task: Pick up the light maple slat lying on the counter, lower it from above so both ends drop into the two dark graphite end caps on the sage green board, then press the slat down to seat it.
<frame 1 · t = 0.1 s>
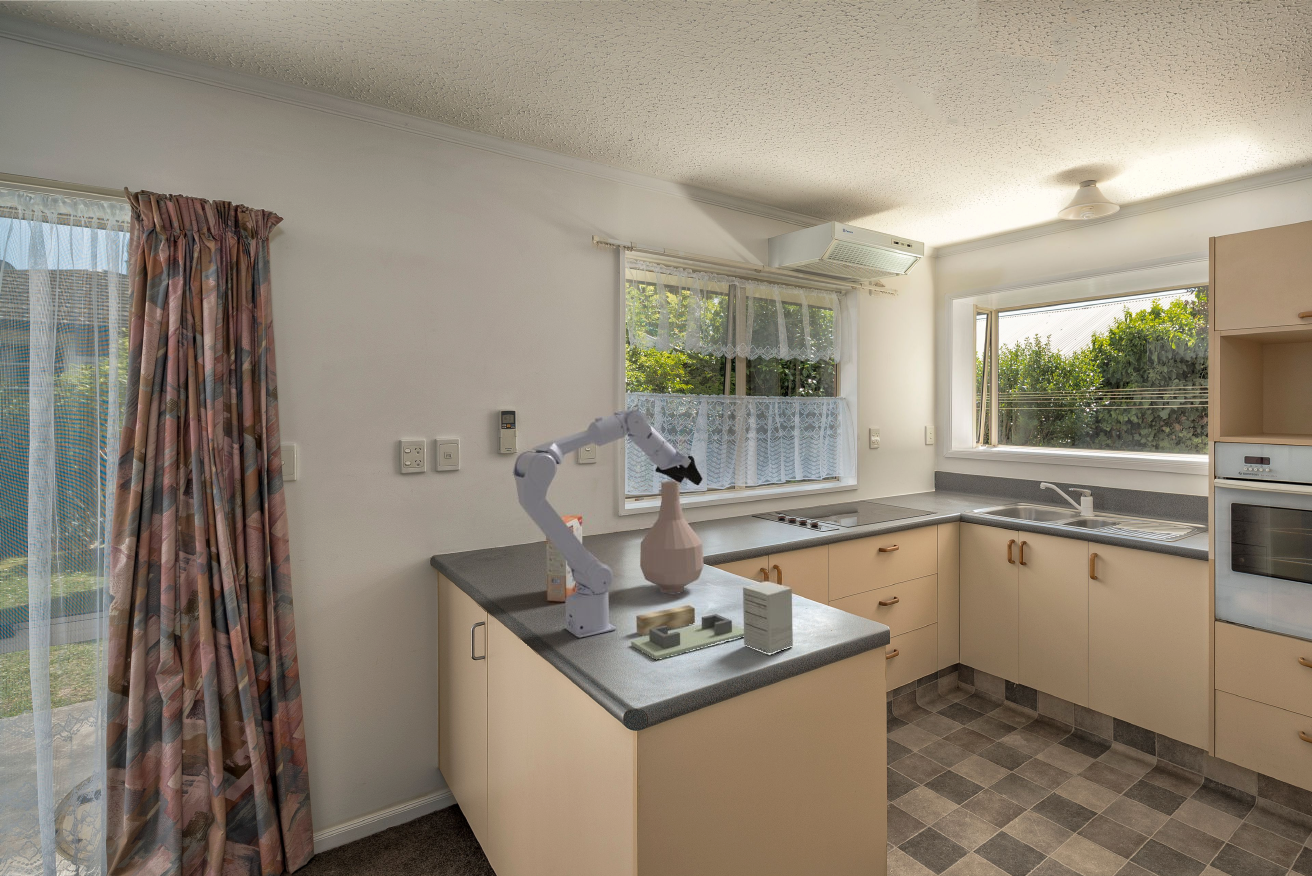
hand: (690, 480, 158), 32 cm above the countertop, tool tilted 50°, fingers open, 7 cm apart
slat: (666, 629, 144), on the countertop
supplement box: (768, 648, 131), on the countertop
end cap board: (691, 640, 136), on the countertop
cracker box: (566, 595, 172), on the countertop
vase: (672, 590, 175), on the countertop
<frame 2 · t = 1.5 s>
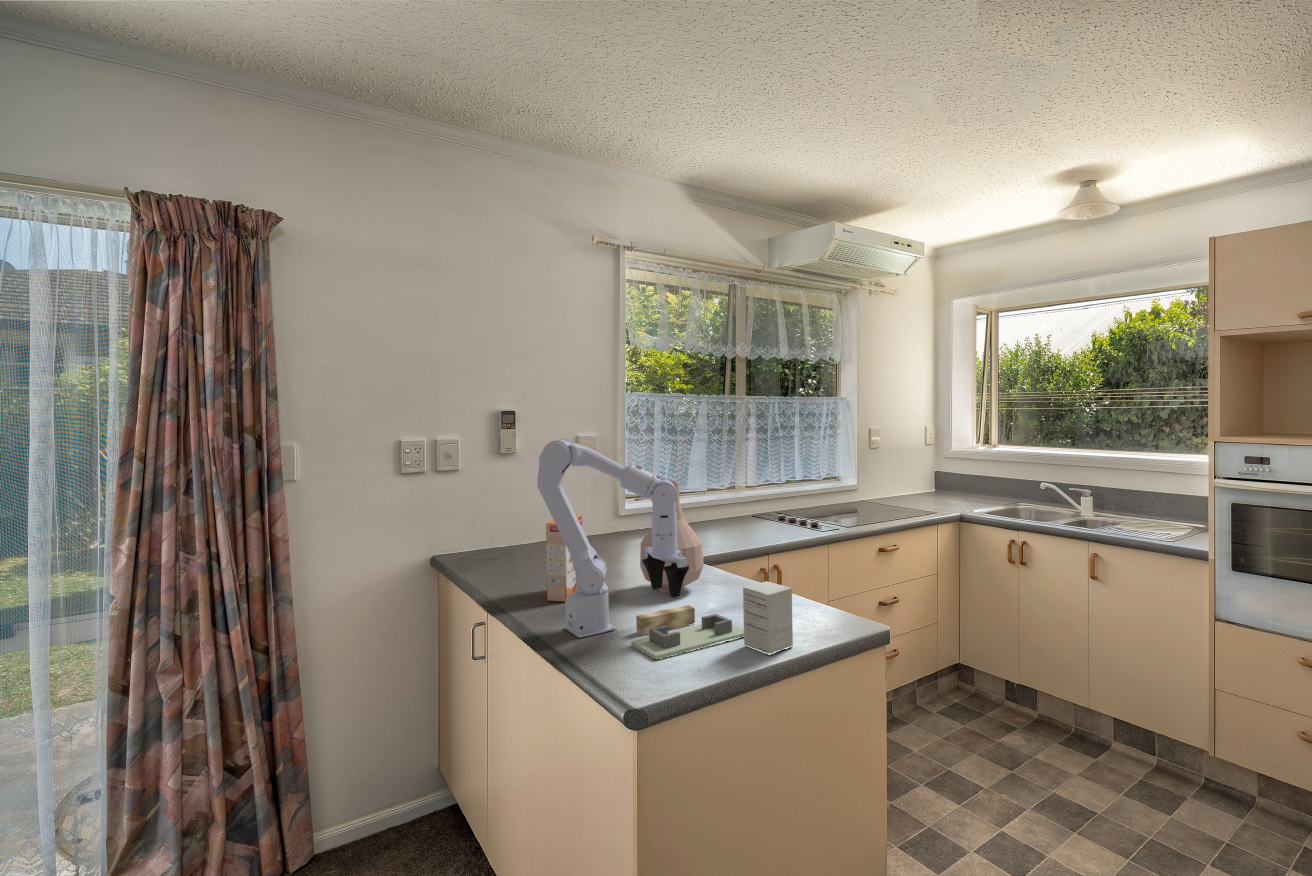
hand: (665, 592, 144), 8 cm above the countertop, tool pointing down, fingers open, 7 cm apart
nothing on the countertop moved.
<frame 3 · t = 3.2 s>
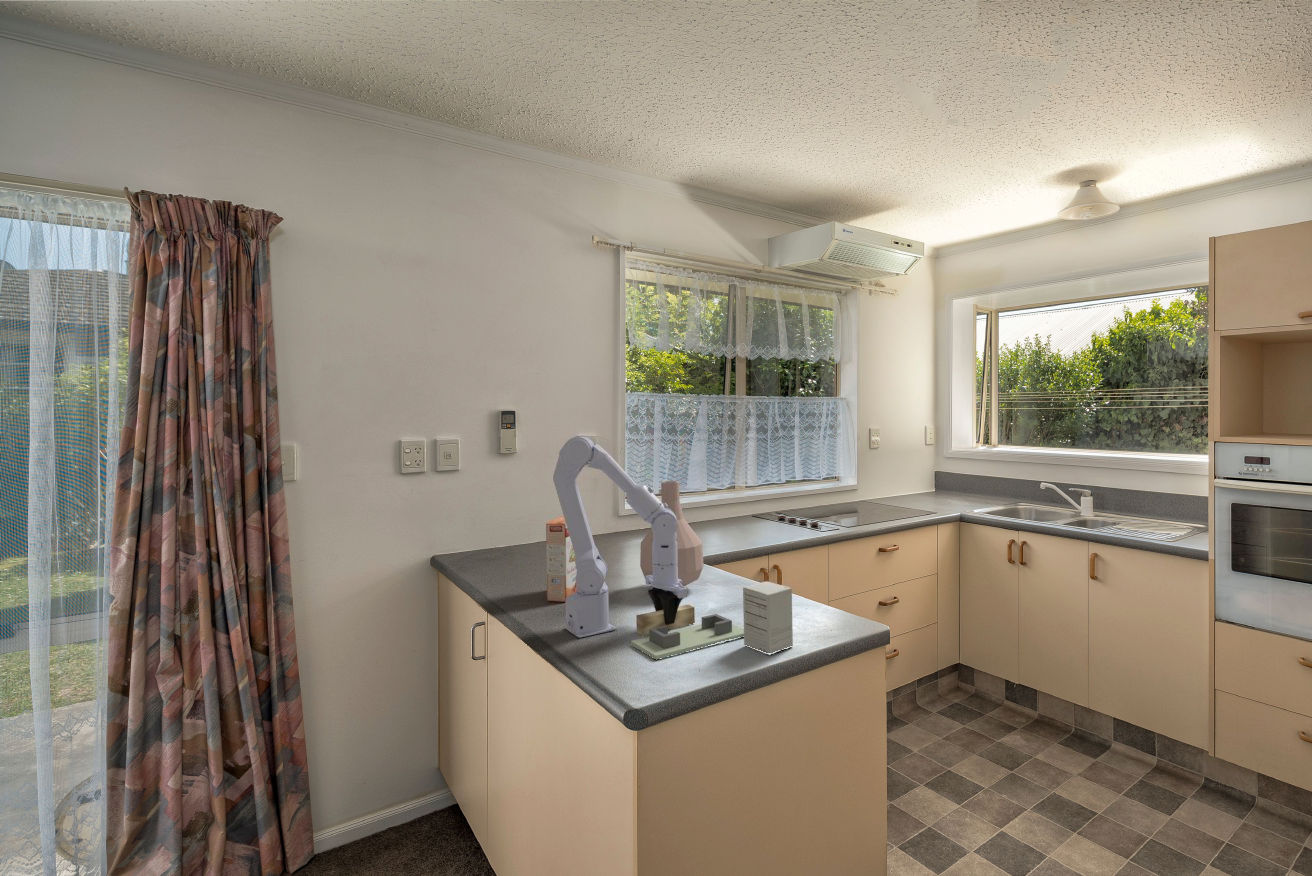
hand: (666, 621, 144), 1 cm above the countertop, tool pointing down, fingers closed on slat, 2 cm apart
slat: (666, 628, 144), on the countertop, touching gripper
everything else where it was.
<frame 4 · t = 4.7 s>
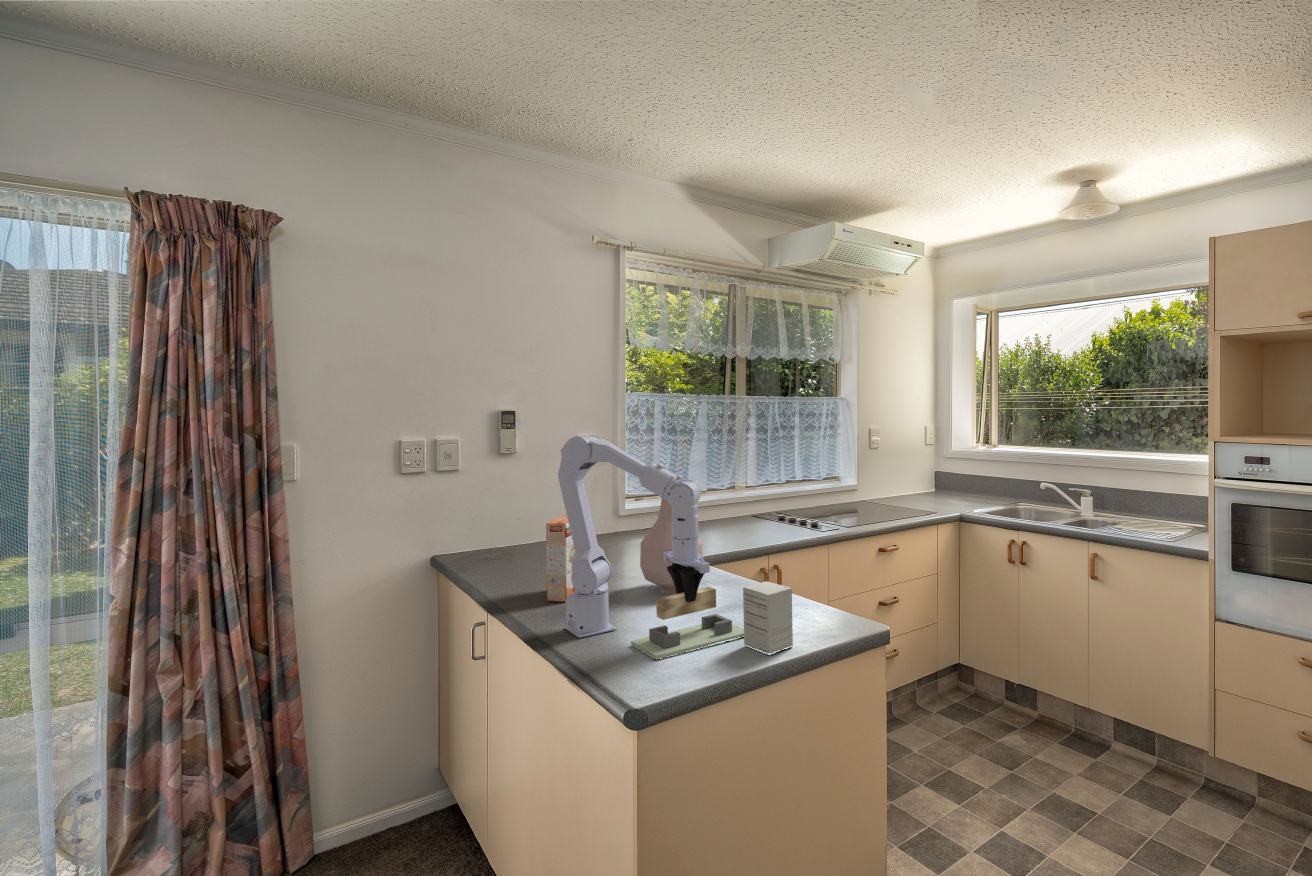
hand: (686, 599, 137), 9 cm above the countertop, tool pointing down, fingers closed on slat, 2 cm apart
slat: (687, 611, 137), point 6 cm above the countertop, touching gripper
everything else where it was.
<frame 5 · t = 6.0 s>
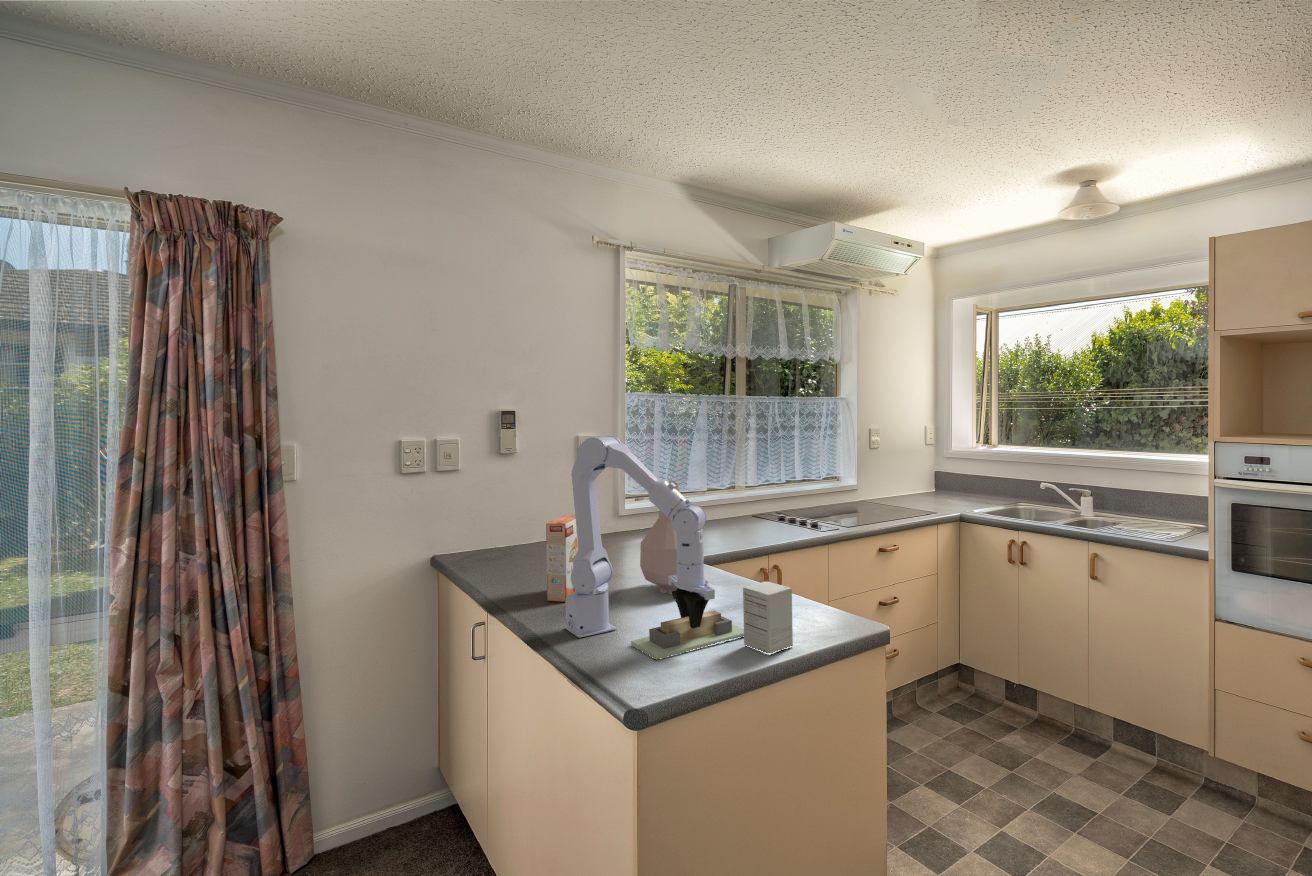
hand: (691, 624, 136), 3 cm above the countertop, tool pointing down, fingers closed on slat, 2 cm apart
slat: (691, 636, 136), point 1 cm above the countertop, touching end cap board, gripper
everything else where it was.
when the fingers open (3 cm above the countertop, at t = 6.5 s): slat stays where it is, resting on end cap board.
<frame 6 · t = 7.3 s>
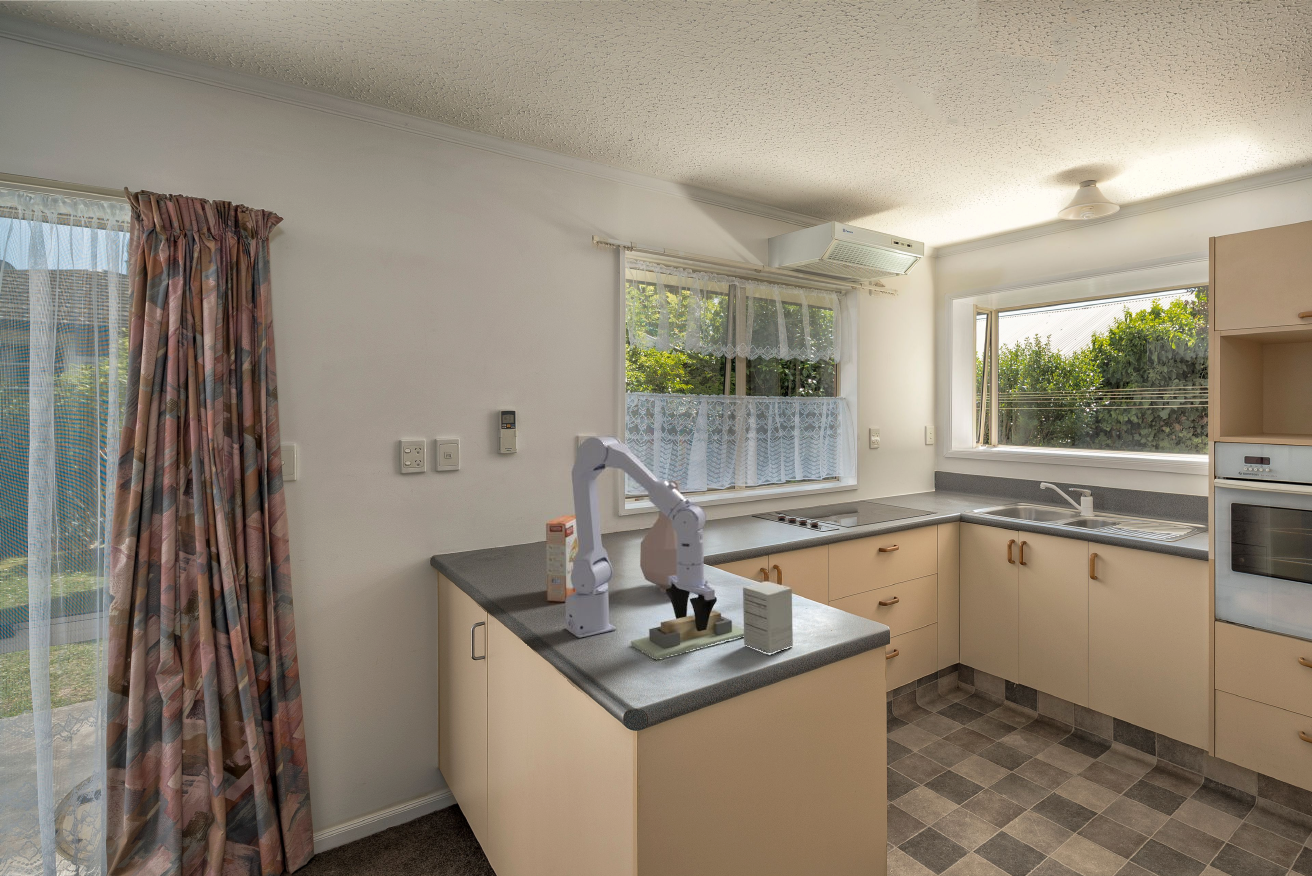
hand: (691, 625, 136), 3 cm above the countertop, tool pointing down, fingers open, 7 cm apart
slat: (691, 636, 136), point 1 cm above the countertop, touching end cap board
everything else where it was.
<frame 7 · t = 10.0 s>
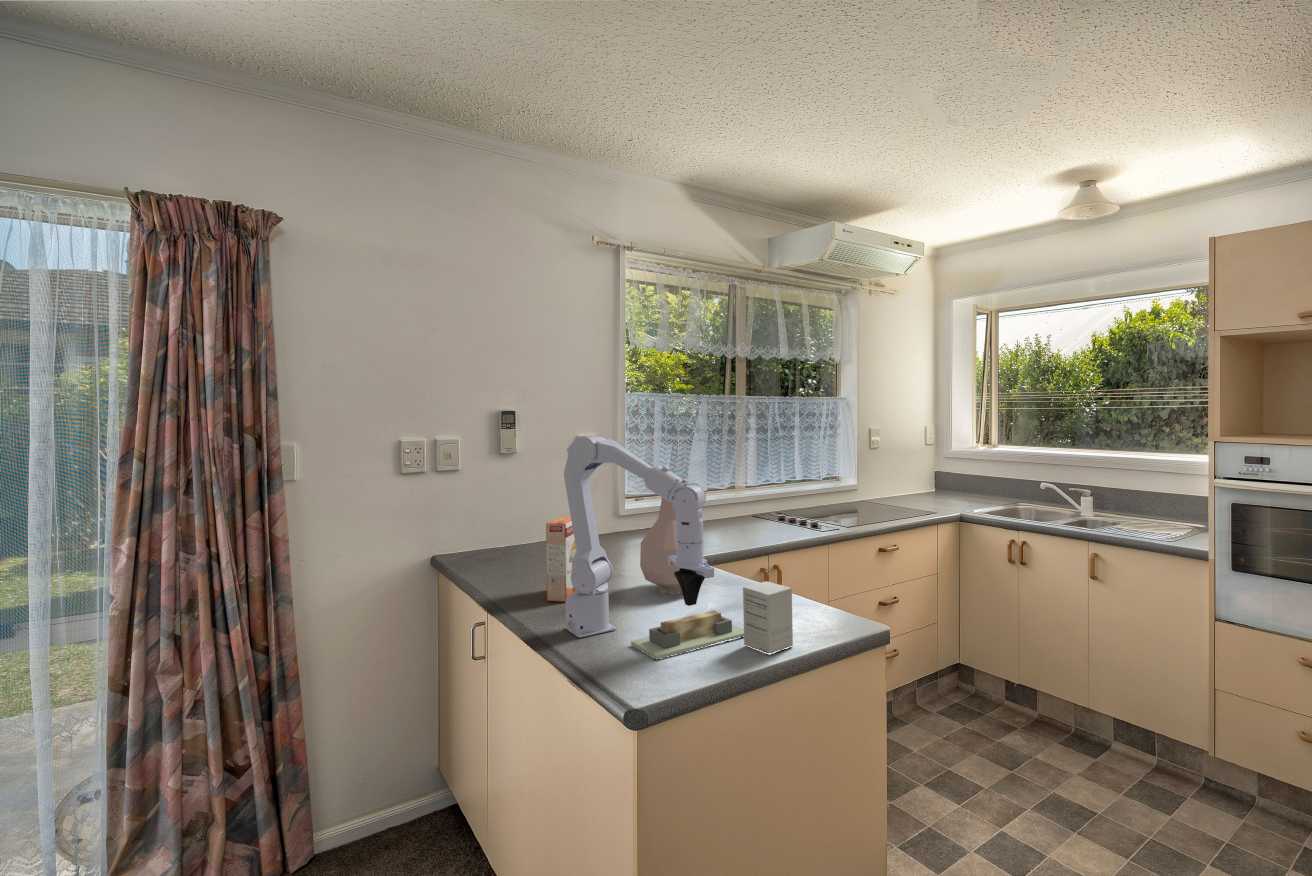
hand: (690, 604, 135), 8 cm above the countertop, tool pointing down, fingers closed
nothing on the countertop moved.
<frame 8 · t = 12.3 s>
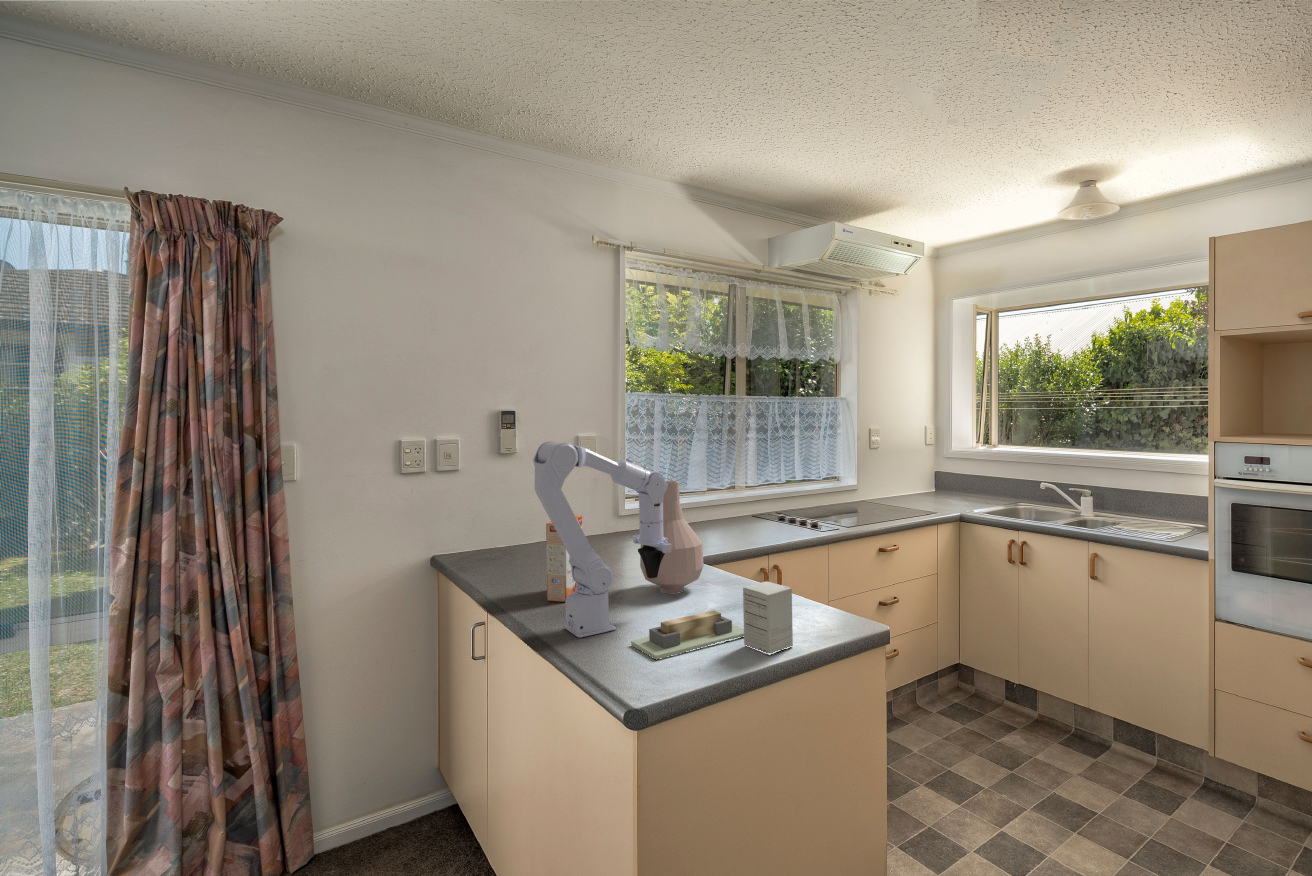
hand: (652, 577, 153), 9 cm above the countertop, tool pointing down, fingers closed
nothing on the countertop moved.
at the end: slat 0.1 cm off-centre on the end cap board, point 1.0 cm above the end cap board's base; slat tilted 0°; the gripper is holding nothing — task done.
